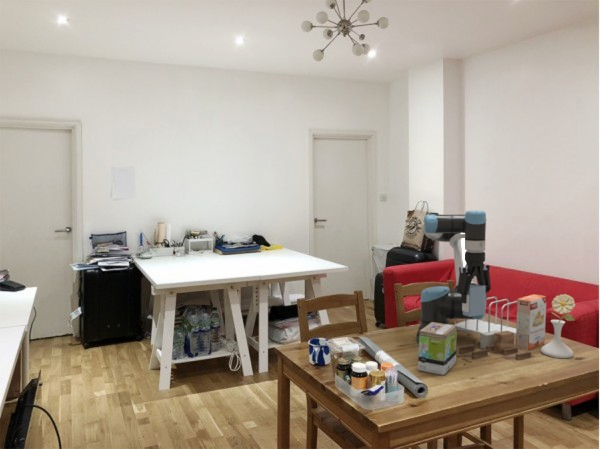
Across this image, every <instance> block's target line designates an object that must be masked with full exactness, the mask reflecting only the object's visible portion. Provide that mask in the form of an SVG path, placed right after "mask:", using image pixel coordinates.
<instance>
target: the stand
mask: <svg viewBox="0 0 600 449" xmlns="http://www.w3.org/2000/svg"><path fill="white" fill-rule="evenodd" d="M488 353H489V352H488V350H486V349H483V350H480V349H478V350H475V347H474V344H467V345H462V346H459V347H458V352H457V353H456V358H459V359H461V360H463V361H466V362H469V363H473V362H472V361H474V360H479V359H483V358H488V357H490V356H491V355H490V354H488Z"/></svg>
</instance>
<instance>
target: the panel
mask: <svg viewBox="0 0 600 449" xmlns="http://www.w3.org/2000/svg"><path fill="white" fill-rule="evenodd" d="M477 284H478V283H477ZM485 291H486V286H483V285H479V284H478V285H470V288H469V291H468V294H467V295H469V312H465V311H463V315H465V316H469V317H472V316H477V315H483V314H485V315H486V311H485Z"/></svg>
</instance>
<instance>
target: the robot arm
mask: <svg viewBox="0 0 600 449" xmlns="http://www.w3.org/2000/svg"><path fill="white" fill-rule="evenodd" d="M464 213H465V214H433V213H431V214H426V215H424V218H423V220H424V221H423V226H422V231H423V234H424V236H425V237H427V238H428V239H430V240H433V241H436V242H440V243H441V242H442V243H449V245H450V247H451V248H453V257H454V258H453V260H454V271H455V281H456V282H455V286H454V287H453V290H451V289H450V287H449V286H442V285H438V286H431V287H427V288H424V289H423V290H422V291H421V294H420V300H419V301H420V324H419V327H418V330H417V333H416V336H415V337H416V338H415V339H416V342H417V343H418V344H419V331H420V330H421V329H423V328H424V327H426V326H427V325H428V324H430V323H431V322H436V323H442V324H449V325H450V319H453V320H454V319H459V320H460V319H461V320H465V319H467V320H470V319H472V320H474V319H478V320H484V316H485V317H486V313H485V314H483V315H477V316H472V317H469V316H465V315H463V311H465V312H469V295H467V294H468V291H469V288H470V285H478V284H479V285H483V286H486V291H485V312H486V311H487V298H488V297H487V295H488V294H487V293H489V292H490V291H491V290H492V285H491V277H490V276H491V275H490V268H491V266H490V265H489V264H484V262H485V263H486V252H485V251H486V233H487V232H486V230H487V229H486V228H487V225H486V224H487V215H486V211H485V210H467V211H465V212H464Z"/></svg>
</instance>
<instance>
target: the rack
mask: <svg viewBox="0 0 600 449" xmlns="http://www.w3.org/2000/svg"><path fill="white" fill-rule="evenodd" d="M473 345H474V349H478V350H483V349H482V348H480V340H479V341H478V340H477V341H474V343H473ZM486 350H488V353H489V354H491V355H495V356H498V357H499V358H502V359H505V360H508V361H512V362H514V363H516V362H520V361H524V360H528V359H532V358H536V357H537V356H535V355H534V354H532V351H530V350H527V351H524V352H523V351H521V350H519V348H518V347H516V346H514V347H513V348H508V349H504V350H503V354H499V353H496V352H494V345H490V346H486Z"/></svg>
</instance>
